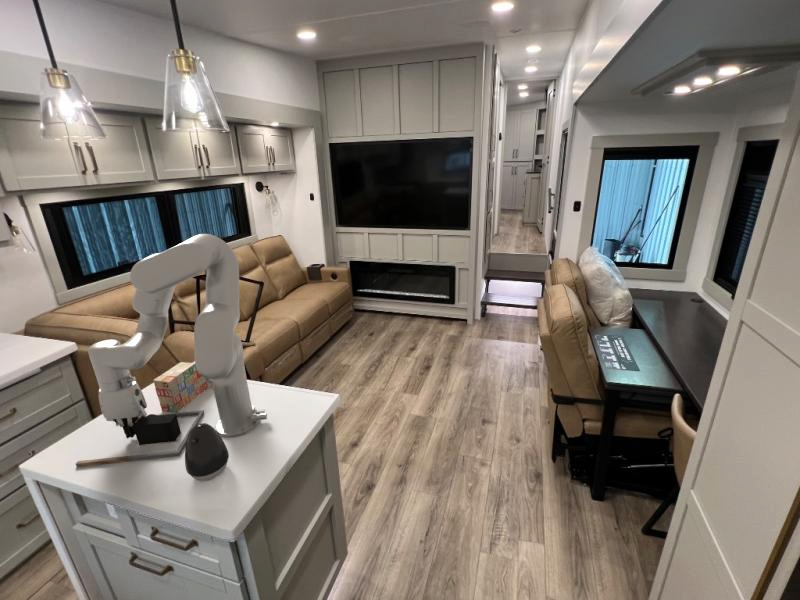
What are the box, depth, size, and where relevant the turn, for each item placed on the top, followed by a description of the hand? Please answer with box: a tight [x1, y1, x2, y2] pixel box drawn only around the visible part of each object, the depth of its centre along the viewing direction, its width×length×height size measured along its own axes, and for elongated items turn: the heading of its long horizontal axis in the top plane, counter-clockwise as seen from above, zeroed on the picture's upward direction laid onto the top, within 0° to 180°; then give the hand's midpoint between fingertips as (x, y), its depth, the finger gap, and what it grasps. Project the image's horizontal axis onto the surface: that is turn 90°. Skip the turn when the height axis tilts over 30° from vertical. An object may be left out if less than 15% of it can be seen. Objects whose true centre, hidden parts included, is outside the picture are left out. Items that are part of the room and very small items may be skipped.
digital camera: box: [133, 413, 182, 446], centre depth 115 cm, size 10×5×7 cm, turn 97°
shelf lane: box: [75, 413, 163, 468], centre depth 115 cm, size 14×20×1 cm
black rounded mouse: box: [184, 422, 230, 482], centre depth 99 cm, size 10×10×15 cm
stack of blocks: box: [153, 360, 213, 413], centre depth 136 cm, size 21×6×12 cm, turn 167°
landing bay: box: [130, 409, 206, 462], centre depth 116 cm, size 13×20×1 cm, turn 7°
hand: (132, 434), depth 115 cm, fingers closed
